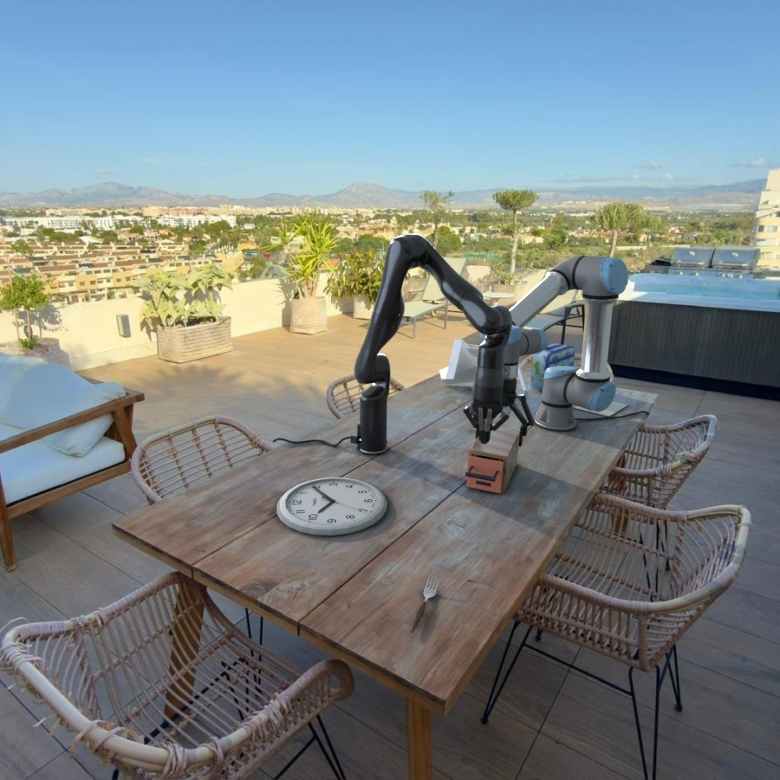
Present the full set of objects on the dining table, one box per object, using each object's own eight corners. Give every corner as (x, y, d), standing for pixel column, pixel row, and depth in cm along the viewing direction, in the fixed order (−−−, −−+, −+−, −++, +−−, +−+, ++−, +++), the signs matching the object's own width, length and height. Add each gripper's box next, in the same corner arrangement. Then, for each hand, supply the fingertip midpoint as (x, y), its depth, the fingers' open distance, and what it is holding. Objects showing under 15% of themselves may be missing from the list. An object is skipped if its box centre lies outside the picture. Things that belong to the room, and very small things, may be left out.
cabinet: (503, 492, 151) (507, 456, 148) (466, 485, 155) (468, 450, 152) (516, 464, 170) (519, 431, 166) (483, 458, 174) (485, 426, 170)
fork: (404, 633, 98) (405, 624, 97) (428, 582, 112) (428, 574, 112) (418, 637, 97) (418, 628, 97) (440, 584, 111) (440, 576, 111)
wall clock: (392, 527, 129) (268, 531, 127) (391, 533, 130) (269, 537, 127) (383, 473, 158) (282, 475, 155) (383, 478, 158) (282, 480, 156)
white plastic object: (461, 429, 252) (437, 405, 227) (444, 352, 274) (420, 323, 250) (535, 404, 240) (518, 377, 215) (510, 326, 262) (492, 293, 237)
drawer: (495, 502, 144) (498, 472, 141) (460, 495, 147) (462, 465, 144) (512, 465, 166) (515, 438, 163) (482, 460, 170) (484, 433, 167)
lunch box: (547, 395, 239) (552, 351, 233) (526, 390, 247) (530, 347, 240) (574, 384, 257) (579, 343, 251) (554, 380, 264) (558, 339, 258)
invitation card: (608, 416, 214) (573, 407, 224) (608, 416, 214) (573, 408, 224) (628, 404, 229) (594, 396, 238) (628, 405, 229) (594, 397, 238)
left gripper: (460, 382, 137) (457, 443, 142) (511, 389, 132) (505, 452, 137) (468, 375, 143) (464, 434, 149) (516, 381, 139) (511, 442, 144)
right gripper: (461, 374, 160) (457, 438, 166) (545, 385, 151) (537, 452, 157) (467, 369, 167) (463, 430, 173) (548, 378, 158) (540, 444, 164)
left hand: (484, 442), depth 143 cm, fingers closed
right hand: (498, 441), depth 165 cm, fingers open, 13 cm apart
